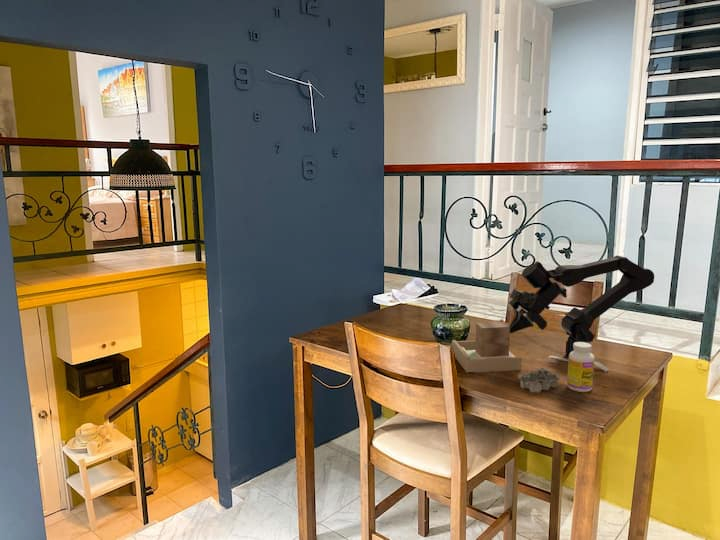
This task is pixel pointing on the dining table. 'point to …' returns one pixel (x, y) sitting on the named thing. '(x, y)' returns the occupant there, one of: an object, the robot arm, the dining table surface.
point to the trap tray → (483, 359)
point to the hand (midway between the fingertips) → (508, 332)
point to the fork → (594, 362)
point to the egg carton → (537, 385)
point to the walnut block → (492, 339)
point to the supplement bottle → (580, 368)
